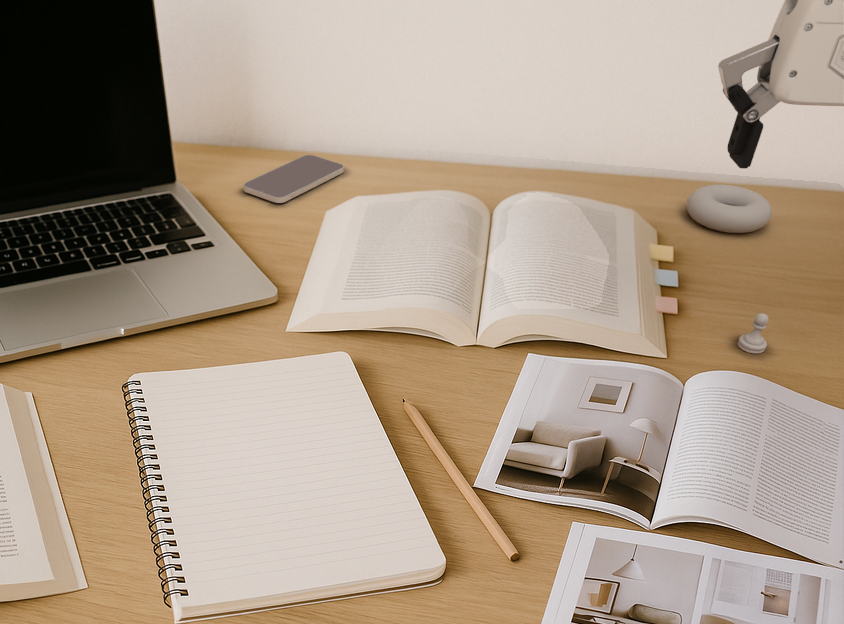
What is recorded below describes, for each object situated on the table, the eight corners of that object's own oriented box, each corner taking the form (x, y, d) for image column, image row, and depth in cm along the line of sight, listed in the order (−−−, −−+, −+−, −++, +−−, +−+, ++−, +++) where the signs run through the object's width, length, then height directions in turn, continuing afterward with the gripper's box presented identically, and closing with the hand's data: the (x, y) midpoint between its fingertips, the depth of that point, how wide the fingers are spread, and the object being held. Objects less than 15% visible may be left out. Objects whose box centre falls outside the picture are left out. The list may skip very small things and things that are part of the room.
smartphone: (347, 165, 122) (280, 199, 112) (347, 171, 122) (280, 205, 113) (307, 153, 125) (239, 184, 116) (307, 159, 126) (239, 191, 116)
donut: (678, 201, 114) (688, 233, 106) (685, 177, 112) (696, 207, 104) (758, 208, 112) (774, 241, 104) (766, 184, 110) (784, 215, 102)
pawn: (736, 350, 85) (749, 317, 83) (737, 337, 87) (749, 304, 85) (765, 356, 84) (778, 323, 82) (764, 343, 86) (777, 310, 84)
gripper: (776, -47, 60) (706, 178, 70) (1032, -44, 59) (924, 185, 69) (739, -66, 66) (680, 145, 76) (971, -63, 65) (880, 150, 75)
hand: (796, 164), depth 72 cm, fingers open, 9 cm apart
